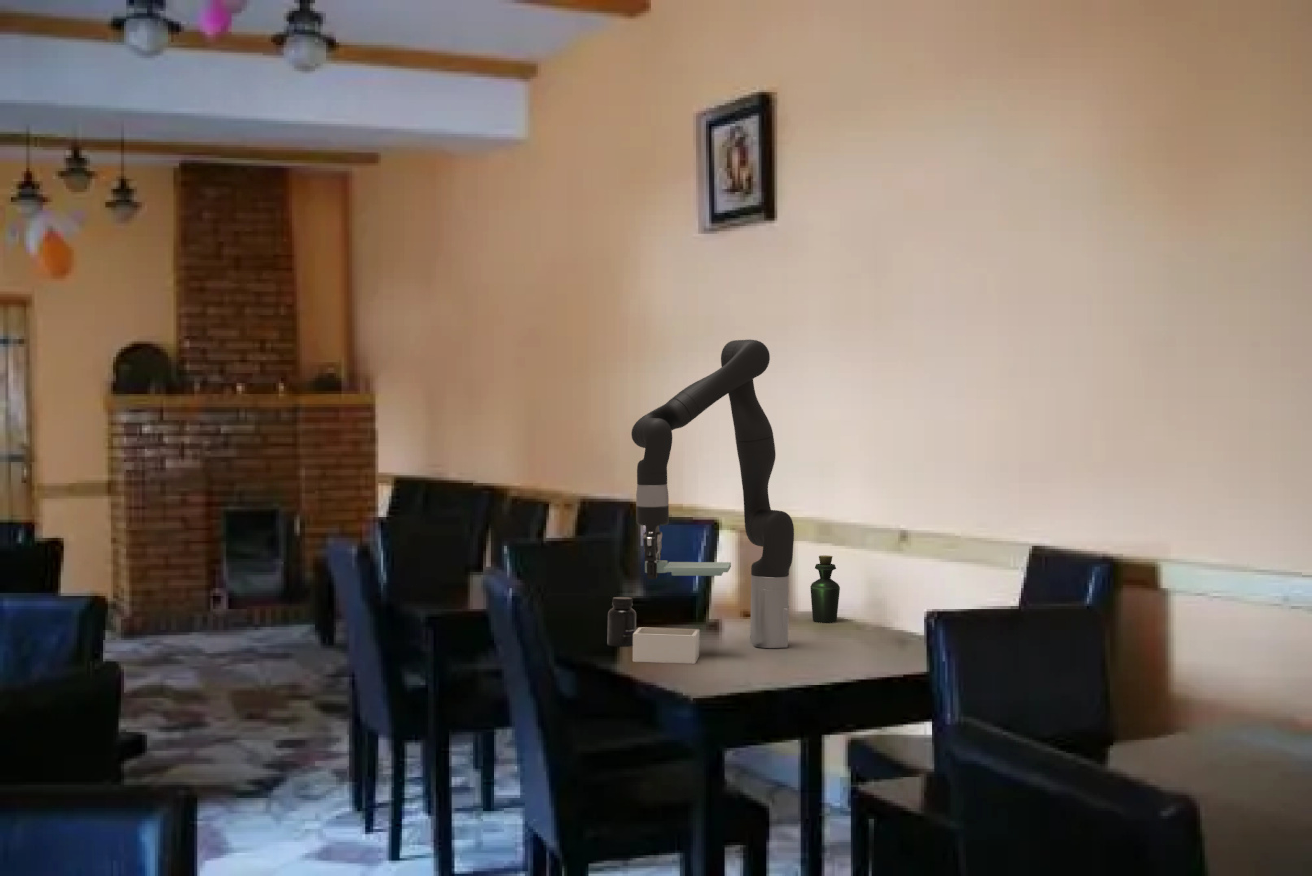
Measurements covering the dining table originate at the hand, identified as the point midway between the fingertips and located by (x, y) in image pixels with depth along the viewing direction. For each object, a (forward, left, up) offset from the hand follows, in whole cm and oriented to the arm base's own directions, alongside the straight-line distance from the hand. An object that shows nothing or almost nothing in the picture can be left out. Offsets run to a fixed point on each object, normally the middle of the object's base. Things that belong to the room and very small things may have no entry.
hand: (653, 577), depth 321 cm
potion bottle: (-39, -65, -19) cm, 78 cm away
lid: (-8, 0, +1) cm, 8 cm away
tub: (-4, +7, -18) cm, 20 cm away
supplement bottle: (+9, -11, -19) cm, 23 cm away
